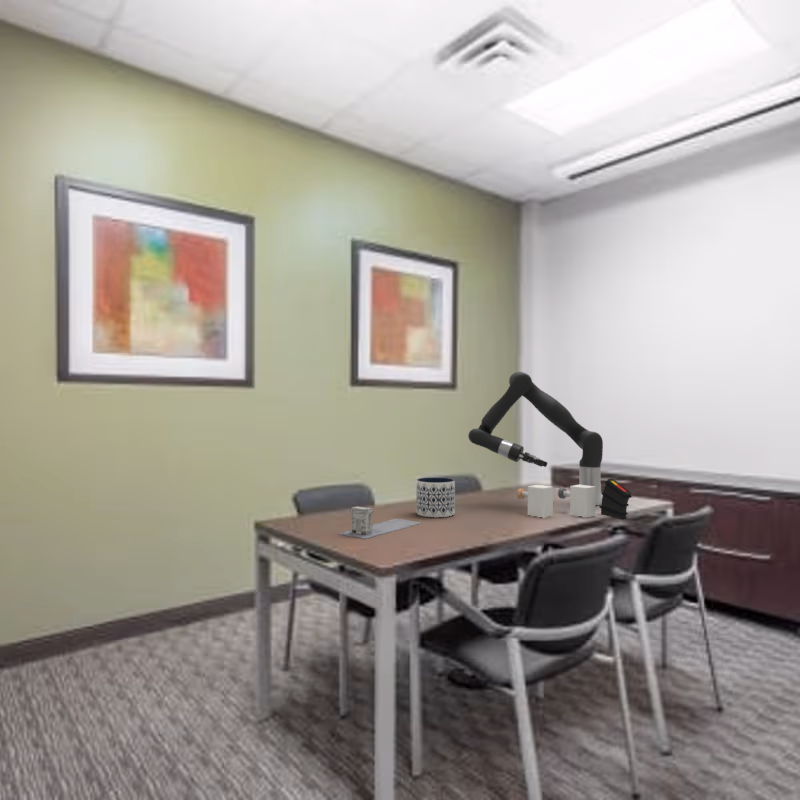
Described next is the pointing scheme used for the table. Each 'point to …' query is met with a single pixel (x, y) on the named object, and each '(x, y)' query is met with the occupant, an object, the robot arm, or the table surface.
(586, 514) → the block
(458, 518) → the table surface
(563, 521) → the table surface
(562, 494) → the knob
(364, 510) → the grey plate with block
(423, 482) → the planter
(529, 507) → the block
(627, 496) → the magazine
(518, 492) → the knob
